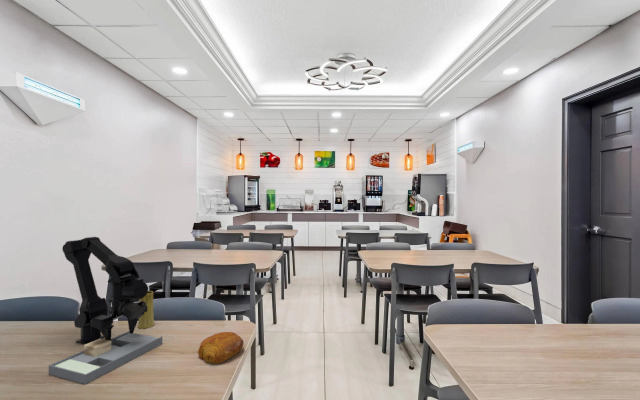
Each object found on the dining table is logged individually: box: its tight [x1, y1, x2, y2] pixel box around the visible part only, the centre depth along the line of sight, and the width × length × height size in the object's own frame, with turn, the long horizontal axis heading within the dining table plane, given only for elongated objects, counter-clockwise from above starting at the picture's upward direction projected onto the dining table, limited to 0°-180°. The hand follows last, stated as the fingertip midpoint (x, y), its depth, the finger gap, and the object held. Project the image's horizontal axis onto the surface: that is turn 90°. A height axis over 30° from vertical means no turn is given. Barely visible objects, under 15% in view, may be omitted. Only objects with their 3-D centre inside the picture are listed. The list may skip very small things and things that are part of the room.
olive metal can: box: [137, 290, 155, 330], centre depth 138 cm, size 6×6×14 cm
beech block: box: [83, 338, 111, 357], centre depth 110 cm, size 6×6×3 cm
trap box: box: [48, 330, 163, 385], centre depth 111 cm, size 16×28×3 cm, turn 161°
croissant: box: [197, 331, 245, 365], centre depth 114 cm, size 14×16×8 cm
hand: (120, 338), depth 118 cm, fingers open, 9 cm apart
